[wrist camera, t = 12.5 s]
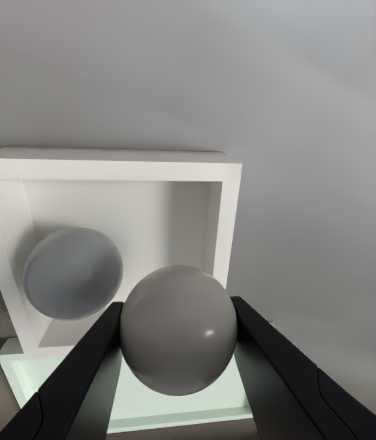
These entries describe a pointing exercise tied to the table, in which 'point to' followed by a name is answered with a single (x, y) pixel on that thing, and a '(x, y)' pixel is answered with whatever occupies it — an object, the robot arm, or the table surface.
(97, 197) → the open box
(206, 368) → the pebble
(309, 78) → the table surface
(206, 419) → the tray
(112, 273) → the pebble
